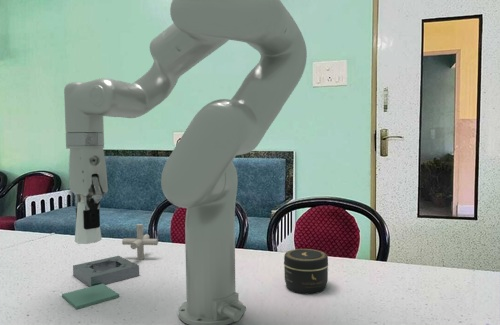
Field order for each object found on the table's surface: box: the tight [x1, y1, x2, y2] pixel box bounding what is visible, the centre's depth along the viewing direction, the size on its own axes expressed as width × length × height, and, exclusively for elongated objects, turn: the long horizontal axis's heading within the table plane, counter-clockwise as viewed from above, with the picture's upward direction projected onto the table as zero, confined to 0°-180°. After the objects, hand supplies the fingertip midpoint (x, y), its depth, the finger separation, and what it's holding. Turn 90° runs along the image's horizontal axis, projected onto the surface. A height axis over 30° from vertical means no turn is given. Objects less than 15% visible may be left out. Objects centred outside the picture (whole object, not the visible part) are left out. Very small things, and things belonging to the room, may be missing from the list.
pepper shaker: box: [74, 192, 102, 245], centre depth 84 cm, size 5×5×11 cm
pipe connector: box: [121, 223, 159, 261], centre depth 112 cm, size 10×10×10 cm
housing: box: [72, 255, 140, 287], centre depth 98 cm, size 12×12×3 cm
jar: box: [283, 248, 329, 295], centre depth 89 cm, size 10×10×8 cm
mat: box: [61, 284, 120, 310], centre depth 85 cm, size 9×9×1 cm
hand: (87, 225), depth 84 cm, fingers closed on pepper shaker, 3 cm apart
